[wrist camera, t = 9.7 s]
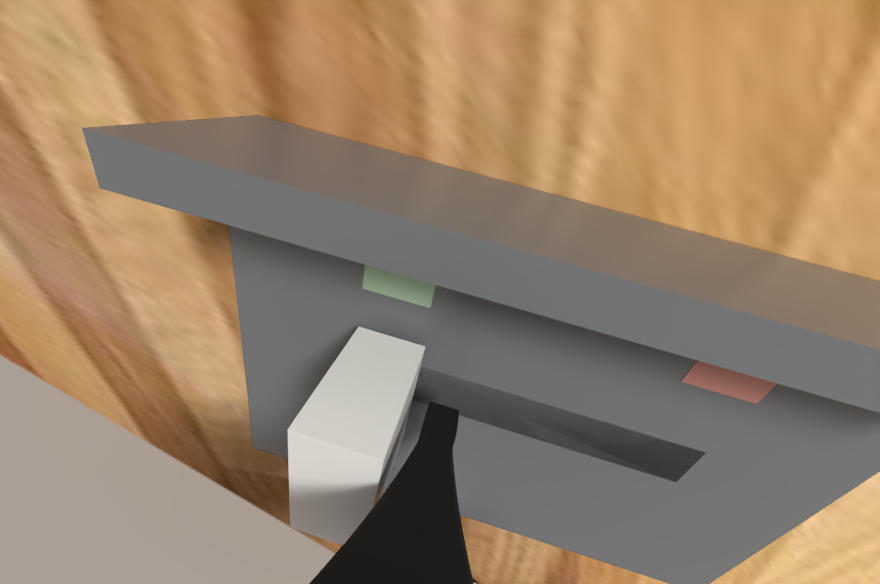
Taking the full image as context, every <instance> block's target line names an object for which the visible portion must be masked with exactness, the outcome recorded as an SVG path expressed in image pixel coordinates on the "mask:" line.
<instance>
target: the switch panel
mask: <svg viewBox="0 0 880 584" xmlns="http://www.w3.org/2000/svg"><path fill="white" fill-rule="evenodd" d="M82 129H83V133H84V136H85V139H86V143H87V146H88V149H89V153H90V156H91V160H92V163H93V166H94V170H95V173H96V176H97V180H98V183H99V186H100V188H101V189H105V190H108V191H112V192H115V193H119V194H122V195H125V196H129V197H132V198H136V199H139V200H143V201H146V202H150V203H153V204H157V205H160V206H164V207H167V208H171V209H174V210H178V211H181V212H184V213H188V214H191V215H195V216H198V217H202V218H205V219H209V220H212V221H216V222H219V223H223V224H226V225H229V230H230V239H231V248H232V257H233V266H234V275H235V284H236V293H237V302H238V312H239V321H240V330H241V339H242V348H243V357H244V366H245V375H246V385H247V394H248V403H249V412H250V421H251V430H252V439H253V448H256V449H259V450H262V451H266V452H269V453H272V454H275V455H278V456H281V457H284V458H287V459H288V428H289V427H290V425H291V424H292V422H293V421H294V419H295V418H296V417H297V415H298V414H299V412H300V411H301V409H302V408H303V406H304V405H305V404H306V402H307V401H308V399H309V398H310V396H311V395H312V393H313V392H314V390H315V389H316V388H317V386H318V385H319V383H320V382H321V380H322V379H323V377H324V376H325V375H326V373H327V372H328V370H329V369H330V367H331V366H332V364H333V363H334V362H335V360H336V359H337V357H338V356H339V354H340V353H341V351H342V350H343V348H344V347H345V346H346V344H347V343H348V341H349V340H350V338H351V337H352V335H353V334H354V333H355V331H356V330H357V328H358V327H362V328H366V329H369V330H372V331H376V332H379V333H382V334H386V335H389V336H392V337H396V338H399V339H402V340H406V341H409V342H412V343H416V344H419V345H422V346H426V347H425V351H424V355H423V359H422V363H421V367H420V371H419V375H418V379H417V383H416V387H415V391H414V395H413V399H412V403H411V407H410V411H409V415H408V419H407V423H406V427H405V431H404V435H403V437H402V440H401V443H400V446H399V449H398V452H397V455H396V458H395V461H394V464H393V467H392V470H391V473H390V476H389V479H388V482H387V485H386V488H385V491H386V489H387V488H388V487H389V485H390V484H391V482H392V481H393V480H394V478H395V477H396V475H397V474H398V472H399V471H400V469H401V468H402V466H403V465H404V463H405V462H406V460H407V458H408V457H409V455H410V454H411V452H412V450H413V449H414V447H415V446H416V444H417V442H418V439H419V435H420V432H421V428H422V425H423V421H424V418H425V415H426V411H427V408H428V404H429V401H431V402H434V403H437V404H441V405H444V406H447V407H450V408H454V409H457V410H460V411H459V419H458V426H457V433H456V438H455V441H454V445H453V463H454V473H455V482H456V491H457V498H458V505H459V512H460V515H461V516H464V517H468V518H471V519H474V520H477V521H480V522H483V523H486V524H489V525H492V526H495V527H498V528H501V529H504V530H507V531H510V532H513V533H517V534H520V535H523V536H526V537H529V538H532V539H535V540H538V541H541V542H544V543H547V544H550V545H553V546H556V547H559V548H562V549H565V550H569V551H572V552H575V553H578V554H581V555H584V556H587V557H590V558H593V559H596V560H599V561H602V562H605V563H608V564H611V565H614V566H618V567H621V568H624V569H627V570H630V571H633V572H636V573H639V574H642V575H645V576H648V577H651V578H654V579H657V580H660V581H663V582H667V583H670V584H710V583H711V582H713V581H714V580H716V579H717V578H719V577H720V576H722V575H723V574H725V573H726V572H728V571H729V570H731V569H732V568H734V567H735V566H737V565H739V564H740V563H742V562H743V561H745V560H746V559H748V558H749V557H751V556H752V555H754V554H755V553H757V552H758V551H760V550H761V549H763V548H764V547H766V546H767V545H769V544H770V543H772V542H773V541H775V540H776V539H778V538H779V537H781V536H782V535H784V534H786V533H787V532H789V531H790V530H792V529H793V528H795V527H796V526H798V525H799V524H801V523H802V522H804V521H805V520H807V519H808V518H810V517H811V516H813V515H814V514H816V513H817V512H819V511H820V510H822V509H823V508H825V507H826V506H828V505H829V504H831V503H833V502H834V501H836V500H837V499H839V498H840V497H842V496H843V495H845V494H846V493H848V492H849V491H851V490H852V489H854V488H855V487H857V486H858V485H860V484H861V483H863V482H864V481H866V480H867V479H869V478H870V477H872V476H873V475H875V474H877V473H878V472H880V281H876V280H873V279H869V278H865V277H861V276H858V275H854V274H850V273H846V272H843V271H839V270H835V269H831V268H828V267H824V266H820V265H816V264H813V263H809V262H805V261H802V260H798V259H794V258H790V257H787V256H783V255H779V254H775V253H772V252H768V251H764V250H760V249H757V248H753V247H749V246H745V245H742V244H738V243H734V242H730V241H727V240H723V239H719V238H715V237H712V236H708V235H704V234H700V233H697V232H693V231H689V230H685V229H682V228H678V227H674V226H671V225H667V224H663V223H659V222H656V221H652V220H648V219H644V218H641V217H637V216H633V215H629V214H626V213H622V212H618V211H614V210H611V209H607V208H603V207H599V206H596V205H592V204H588V203H584V202H581V201H577V200H573V199H569V198H566V197H562V196H558V195H555V194H551V193H547V192H543V191H540V190H536V189H532V188H528V187H525V186H521V185H517V184H513V183H510V182H506V181H502V180H498V179H495V178H491V177H487V176H483V175H480V174H476V173H472V172H468V171H465V170H461V169H457V168H453V167H450V166H446V165H442V164H438V163H435V162H431V161H427V160H424V159H420V158H416V157H412V156H409V155H405V154H401V153H397V152H394V151H390V150H386V149H382V148H379V147H375V146H371V145H367V144H364V143H360V142H356V141H352V140H349V139H345V138H341V137H337V136H334V135H330V134H326V133H322V132H319V131H315V130H311V129H307V128H304V127H300V126H296V125H293V124H289V123H285V122H281V121H278V120H274V119H270V118H266V117H263V116H259V115H253V116H240V117H226V118H212V119H199V120H185V121H171V122H158V123H144V124H130V125H117V126H103V127H89V128H82Z"/></svg>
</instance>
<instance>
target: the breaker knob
mask: <svg viewBox="0 0 880 584" xmlns="http://www.w3.org/2000/svg"><path fill="white" fill-rule="evenodd" d="M425 347H426V346H422V345H419V344H416V343H412V342H409V341H406V340H402V339H399V338H396V337H392V336H389V335H386V334H382V333H379V332H376V331H372V330H369V329H366V328H362V327H358V328H357V330H356V331H355V333H354V334H353V335H352V337H351V338H350V340H349V341H348V343H347V344H346V346H345V347H344V348H343V350H342V351H341V353H340V354H339V356H338V357H337V359H336V360H335V362H334V363H333V364H332V366H331V367H330V369H329V370H328V372H327V373H326V375H325V376H324V377H323V379H322V380H321V382H320V383H319V385H318V386H317V388H316V389H315V390H314V392H313V393H312V395H311V396H310V398H309V399H308V401H307V402H306V404H305V405H304V406H303V408H302V409H301V411H300V412H299V414H298V415H297V417H296V418H295V419H294V421H293V422H292V424H291V425H290V427H289V428H288V467H289V508H290V528H293V529H296V530H299V531H302V532H305V533H308V534H311V535H314V536H317V537H320V538H323V539H326V540H328V541H331V542H334V543H337V544H340V545H344V543H345V542H346V541H347V540H348V539H349V537H350V536H351V535H352V534H353V533H354V531H355V530H356V529H357V528H358V526H359V525H360V524H361V523H362V521H363V520H364V519H365V518H366V516H367V515H368V514H369V512H370V511H371V510H372V509H373V507H374V506H375V505H376V503H377V502H378V501H379V499H380V498H381V496H382V495H383V494H384V491H385V488H386V485H387V482H388V479H389V476H390V473H391V470H392V467H393V464H394V461H395V458H396V455H397V452H398V449H399V446H400V443H401V440H402V437H403V435H404V431H405V427H406V423H407V419H408V415H409V411H410V407H411V403H412V399H413V395H414V391H415V387H416V383H417V379H418V375H419V371H420V367H421V363H422V359H423V355H424V351H425Z"/></svg>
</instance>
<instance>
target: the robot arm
mask: <svg viewBox="0 0 880 584" xmlns="http://www.w3.org/2000/svg"><path fill="white" fill-rule="evenodd" d="M459 411H460V410H457V409H454V408H450V407H447V406H444V405H441V404H437V403H434V402H431V401H429V404H428V408H427V411H426V415H425V418H424V421H423V425H422V428H421V432H420V435H419V439H418V442H417V444H416V446H415V447H414V449H413V450H412V452H411V454H410V455H409V457H408V458H407V460H406V462H405V463H404V465H403V466H402V468H401V469H400V471H399V472H398V474H397V475H396V477H395V478H394V480H393V481H392V482H391V484H390V485H389V487H388V488H387V489H386V491H385V492H384V494H383V495H382V496H381V498H380V499H379V501H378V502H377V503H376V505H375V506H374V507H373V509H372V510H371V511H370V512H369V514H368V515H367V516H366V518H365V519H364V520H363V521H362V523H361V524H360V525H359V526H358V528H357V529H356V530H355V531H354V533H353V534H352V535H351V536H350V537H349V539H348V540H347V541H346V542H345V543H344V545H343V546H342V547H341V548H340V549H339V550H338V552H337V553H336V554H335V555H334V556H333V557H332V559H331V560H330V561H329V562H328V563H327V564H326V566H325V567H324V568H323V569H322V570H321V571H320V572H319V574H318V575H317V576H316V577H315V578H314V579H313V580H312V581H311V583H310V584H477V583H474V582H473V579H472V575H471V570H470V566H469V561H468V556H467V551H466V546H465V541H464V536H463V530H462V524H461V518H460V512H459V505H458V498H457V491H456V482H455V473H454V463H453V445H454V441H455V438H456V433H457V426H458V419H459Z"/></svg>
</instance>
